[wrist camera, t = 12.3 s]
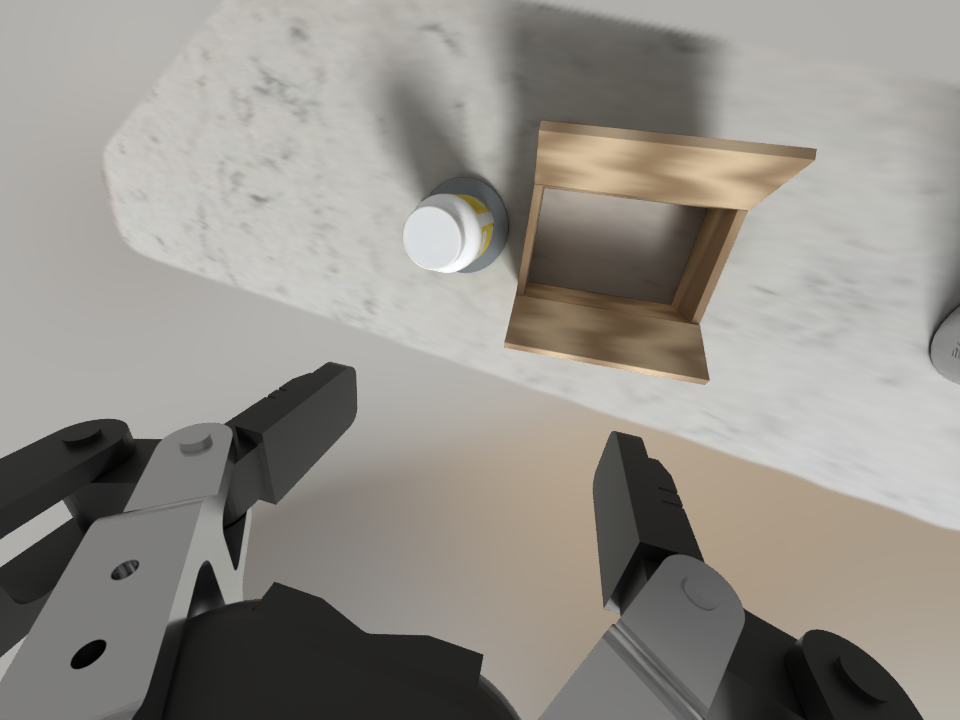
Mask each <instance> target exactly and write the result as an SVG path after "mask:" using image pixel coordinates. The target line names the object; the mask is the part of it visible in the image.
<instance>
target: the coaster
mask: <svg viewBox="0 0 960 720" xmlns="http://www.w3.org/2000/svg"><path fill="white" fill-rule="evenodd" d="M437 194H458V195H470V196H474V197H476V198H478V199H480V200H481V201H482V202H484V203H485V204H486V206H487V207H488V208H489V210H490V211H491V213H492V216H493V219H494V224H495V232H494V237H493V240H492V243H491V245H490V246H489V248H488V249H487V250H486V251H485V252H484V253H483V254H482V255H481V256H479V257H478V258H477V259H476V260H474V261H473V262H472V263H470V264H469V265H468V266H466V267H465V268H463V269H461V270H458V271H456V272H461V273H471V272H476V271H479V270H481V269H483V268H485V267H487V266H488V265H490V264H491V263H492V262H493V261H494V260H495V259H496V258H497V257H498V256H499V254H500V253H501V251H502V250H503V248H504V246H505V243H506V240H507V235H508V217H507V212H506V209H505V207H504V204H503V202H502V200H501V199H500V197H499V196H498V195H497V193H496V192H495V191H494V190H493V189H492V188H491V187H489V186H488V185H487V184H485V183H483V182H481V181H479V180H476V179H472V178H465V177H460V178H454V179H450V180H448V181H445V182H443V183H442V184H440V185H439V186H438V187H437V188H435V189H434V190H433V192H432V193H431V194H430V195H429V197H430V196H433V195H437Z"/></svg>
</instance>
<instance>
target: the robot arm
mask: <svg viewBox="0 0 960 720" xmlns="http://www.w3.org/2000/svg"><path fill="white" fill-rule="evenodd" d="M931 359H932V363H933V366H934V367H935V368H936V370H937V371H938V372H939V373H940V374H941V375H943V376H944V377H945V378H947V379H948V380H951V381H953V382H955V383H957V384H959V385H960V306H959V307H958V308H957V309H956V310H955V311H953V312H952V313H951V314H950V315H949V316H948V318H947V319H946V320H945V321H944V322H943V323H942V324H941V326H940V328H939V329H938V331H937V332H936V334H935V336H934V339H933V342H932V345H931ZM356 413H357V387H356V371H355V369H354V368H353V367H350V366H346V365H342V364H338V363H333V362H328V363H326V364H325V365H323V366H322V367H320V368H319V369H317V370H316V371H314V372H313V373H308V374H305V375H303V376H300V377H297V378H294V379H292V380H290V381H289V382H287V383H286V384H284V385H283V386H281V387H280V388H279V390H275V391H274V392H272V393H271V394H269V395H268V397H264V398H263V399H262V400H260V401H259V402H257V403H255V404H254V405H252V406H251V407H249V408H248V409H246V410H245V411H243V412H242V413H240V414H239V415H237V416H236V417H234V418H232V419H231V420H229V421H228V422H226V423H225V424H220V423H202V424H196V425H192V426H188V427H185V428H182V429H180V430H178V431H175V432H173V433H171V434H170V435H168V436H167V437H165V438H164V439H133V437H132V435H131V432H130V430H129V428H128V425H127V424H126V423H125V422H123V421H120V420H116V419H99V420H92V421H86V422H83V423H78V424H75V425H72V426H69V427H66V428H64V429H61V430H59V431H57V432H55V433H53V434H51V435H49V436H47V437H44V438H42V439H40V440H38V441H36V442H34V443H32V444H30V445H28V446H26V447H24V448H22V449H20V450H18V451H16V452H13V453H12V454H9V455H7V456H5V457H3V458H1V459H0V539H1V538H3V537H4V536H6V535H7V534H9V533H10V532H12V531H14V530H15V529H17V528H18V527H20V526H22V525H23V524H25V523H26V522H28V521H29V520H31V519H33V518H34V517H36V516H37V515H39V514H40V513H42V512H44V511H45V510H47V509H48V508H50V507H51V506H53V505H54V504H56V503H58V502H59V501H61V500H63V501H64V503H65V504H66V506H67V508H68V510H69V511H70V513H71V515H72V516H73V518H72V519H70V520H69V521H67V522H66V523H65V524H63V525H61V526H60V527H59V528H57V529H56V530H54V531H53V532H51V533H50V534H48V535H47V536H46V537H44V538H43V539H41V540H40V541H39V542H37V543H35V544H34V545H32V546H31V547H29V548H28V549H26V550H25V551H24V552H22V553H21V554H19V555H18V556H16V557H15V558H13V559H12V560H10V561H9V562H7V563H6V564H5V565H3V566H2V567H0V657H1V656H2V655H4V654H5V653H6V652H7V651H8V650H10V649H11V648H12V647H13V646H14V645H15V644H16V643H18V642H19V641H20V640H21V639H22V638H24V637H25V636H26V635H27V634H28V635H27V637H26V638H25V640H24V642H23V644H22V645H21V647H20V649H19V650H18V652H17V654H16V656H15V657H14V659H13V661H12V663H11V664H10V666H9V668H8V669H7V671H6V673H5V675H4V676H3V678H2V680H1V682H0V720H521V719H520V717H519V716H518V714H517V712H516V711H515V710H514V708H513V707H512V706H511V704H510V703H509V702H508V700H507V699H506V698H505V696H504V695H503V694H502V693H501V692H500V691H499V690H498V689H497V688H496V687H495V686H494V685H493V684H492V683H491V682H490V681H489V680H487V679H486V678H485V677H483V676H482V675H481V674H480V671H481V665H482V659H483V654H480V653H477V652H474V651H471V650H468V649H466V648H463V647H460V646H457V645H454V644H451V643H449V642H445V641H443V640H440V639H437V638H434V637H431V636H426V635H389V634H369V633H366V632H364V631H362V630H361V629H360V628H358V627H357V626H356V625H355V624H353V623H352V622H351V621H350V620H348V619H347V618H346V617H345V616H344V615H342V614H341V613H340V612H339V611H337V610H336V609H335V608H334V607H332V606H331V605H330V604H329V603H327V602H326V601H325V600H324V599H322V598H320V597H317V596H313V595H311V594H308V593H305V592H302V591H299V590H297V589H294V588H291V587H288V586H285V585H282V584H279V583H276V582H274V583H273V585H272V586H271V587H270V589H269V590H268V591H267V592H266V594H265V595H264V596H263V598H262V599H255V600H245V601H243V591H242V583H243V573H244V566H245V559H246V553H247V545H248V539H249V532H250V525H251V518H252V511H251V506H252V505H253V504H254V503H255V502H256V501H257V500H258V499H260V500H263V501H266V502H269V503H273V504H277V503H278V502H279V501H280V500H281V499H282V498H283V497H284V496H285V495H286V493H288V491H289V490H290V489H291V488H292V487H293V486H294V485H295V484H296V483H297V482H298V481H299V480H300V479H301V478H302V477H303V476H304V475H305V474H306V473H307V472H308V470H309V469H310V468H311V467H312V466H313V465H314V464H315V463H316V462H317V461H318V460H319V459H320V458H321V457H322V456H323V455H324V453H325V452H326V451H327V450H328V449H329V448H330V447H331V446H332V445H333V444H334V443H335V442H336V441H337V440H338V439H339V438H340V437H341V436H342V435H343V433H344V432H345V431H346V430H347V429H348V428H349V427H350V426H351V424H352V423H353V421H354V419H355V417H356ZM593 499H594V510H595V520H596V531H597V542H598V552H599V563H600V574H601V584H602V595H603V606H604V609H605V610H608V611H612V612H615V613H618V614H620V616H621V618H620V619H619V620H618V621H617V623H616V624H615V625H614V624H612V626H610V628H609V629H608V630H607V631H606V632H605V634H604V635H603V636H602V638H601V639H600V640H599V641H598V643H597V644H596V645H595V647H594V648H593V649H592V650H591V652H590V653H589V654H588V656H587V657H586V658H585V660H584V661H583V662H582V663H581V665H580V666H579V667H578V669H577V670H576V671H575V673H574V674H573V675H572V676H571V678H570V679H569V680H568V682H567V683H566V684H565V685H564V687H563V688H562V689H561V691H560V692H559V693H558V695H557V696H556V697H555V699H554V700H553V701H552V702H551V704H550V705H549V706H548V708H547V709H546V710H545V711H544V713H543V714H542V716H541V717H540V718H539V719H538V720H923V718H922V716H921V715H920V713H919V712H918V710H917V709H916V707H915V706H914V704H913V703H912V701H911V700H910V698H909V697H908V695H907V694H906V693H905V691H904V690H903V688H902V687H901V686H900V685H899V684H898V683H897V681H896V680H895V679H894V678H893V677H892V676H891V675H890V674H889V673H888V672H887V671H886V670H885V669H884V668H883V667H882V666H881V665H880V664H879V663H878V662H877V661H876V660H875V659H873V658H872V657H871V656H870V655H868V654H867V653H866V652H864V651H863V650H862V649H860V648H859V647H858V646H856V645H855V644H853V643H851V642H850V641H848V640H846V639H844V638H842V637H840V636H839V635H836V634H834V633H831V632H828V631H824V630H817V629H816V630H810V631H808V632H806V633H805V634H804V635H803V636H802V637H801V638H800V639H799V640H797V639H795V638H794V637H792V636H790V635H788V634H787V633H785V632H783V631H781V630H780V629H778V628H776V627H774V626H773V625H771V624H769V623H767V622H766V621H764V620H762V619H760V618H758V617H757V616H755V615H753V614H752V613H750V612H748V611H747V610H745V609H744V608H743V606H742V604H741V601H740V599H739V597H738V596H737V594H736V592H735V591H734V589H733V588H732V587H731V585H730V584H729V583H728V582H727V581H726V580H725V579H724V578H723V577H722V576H721V575H720V574H719V573H718V572H717V571H715V570H714V569H713V568H711V567H710V566H709V565H707V564H705V562H704V559H703V557H702V554H701V552H700V549H699V546H698V544H697V541H696V539H695V536H694V534H693V531H692V528H691V526H690V523H689V520H688V518H687V515H686V513H685V510H684V509H682V506H683V505H682V502H681V500H680V497H679V495H677V489H676V487H675V484H674V482H673V479H672V476H671V475H670V474H669V472H668V471H667V470H666V469H665V468H664V467H663V465H662V464H661V463H660V462H659V461H658V460H656V459H652V458H648V455H647V452H646V449H645V446H644V443H643V440H642V438H640V437H637V436H633V435H629V434H625V433H621V432H616V431H612V432H611V434H610V436H609V438H608V441H607V443H606V446H605V448H604V451H603V454H602V456H601V459H600V461H599V464H598V467H597V469H596V472H595V476H594V481H593Z"/></svg>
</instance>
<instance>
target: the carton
mask: <svg viewBox="0 0 960 720" xmlns="http://www.w3.org/2000/svg"><path fill="white" fill-rule="evenodd" d="M816 150H817V149H812V148H803V147H793V146H783V145H774V144H764V143H754V142H745V141H735V140H725V139H716V138H706V137H696V136H687V135H677V134H667V133H658V132H648V131H638V130H628V129H619V128H609V127H599V126H590V125H580V124H570V123H561V122H551V121H541V123H540V128H539V136H538V148H537V160H536V171H535V184H534V190H533V196H532V202H531V208H530V214H529V220H528V226H527V232H526V238H525V244H524V250H523V256H522V262H521V268H520V274H519V279H518V285H517V291H516V296H515V300H514V305H513V309H512V313H511V317H510V321H509V326H508V330H507V334H506V338H505V343H504V348H510V349H515V350H520V351H526V352H531V353H536V354H542V355H547V356H552V357H558V358H563V359H569V360H574V361H579V362H585V363H590V364H595V365H601V366H606V367H611V368H617V369H622V370H627V371H633V372H638V373H644V374H649V375H654V376H660V377H665V378H670V379H676V380H681V381H686V382H692V383H697V384H702V385H705V384H706V383H707V382H708V381H710V380H709V375H708V369H707V363H706V357H705V352H704V346H703V340H702V334H701V329H700V325H699V324H700V322H701V319H702V317H703V315H704V312H705V310H706V308H707V305H708V303H709V301H710V298H711V296H712V294H713V291H714V289H715V287H716V284H717V282H718V280H719V277H720V275H721V273H722V270H723V268H724V266H725V263H726V261H727V259H728V256H729V254H730V252H731V249H732V247H733V245H734V242H735V240H736V238H737V235H738V233H739V231H740V228H741V226H742V224H743V221H744V219H745V216H746V214H747V212H748V210H751V209H752V208H753V207H755V206H756V205H757V204H758V203H760V202H761V201H762V200H764V199H765V198H766V197H768V196H769V195H770V194H771V193H773V192H774V191H775V190H777V189H778V188H779V187H781V186H782V185H783V184H784V183H786V182H787V181H788V180H790V179H791V178H792V177H794V176H795V175H796V174H797V173H799V172H800V171H801V170H803V169H804V168H805V167H807V166H808V165H809V164H810V163H812V162H813V161H814V160H815V157H816ZM544 188H552V189H559V190H567V191H575V192H583V193H591V194H599V195H607V196H615V197H622V198H630V199H638V200H646V201H654V202H662V203H670V204H677V205H685V206H693V207H701V208H708V209H707V212H706V214H705V217H704V220H703V222H702V225H701V228H700V230H699V233H698V236H697V238H696V241H695V243H694V246H693V249H692V251H691V254H690V257H689V259H688V262H687V265H686V267H685V270H684V273H683V275H682V278H681V280H680V283H679V286H678V288H677V291H676V294H675V296H674V299H673V302H672V304H671V305H667V304H661V303H655V302H649V301H642V300H636V299H630V298H624V297H618V296H611V295H605V294H599V293H593V292H587V291H581V290H574V289H568V288H562V287H556V286H550V285H543V284H537V283H531V282H528V276H529V271H530V265H531V260H532V254H533V249H534V243H535V238H536V232H537V226H538V221H539V215H540V210H541V204H542V199H543V193H544Z"/></svg>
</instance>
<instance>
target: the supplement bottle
mask: <svg viewBox="0 0 960 720" xmlns="http://www.w3.org/2000/svg"><path fill="white" fill-rule="evenodd" d="M494 232H495V224H494V219H493V216H492V213H491V211H490V210H489V208H488V207H487V206H486V204H485V203H484V202H482V201H481V200H480V199H478V198H476V197H474V196H470V195H458V194H437V195H433V196H430V197H428V198H427V199H425V200H424V201H422V202H421V203H420V204H419V205H418V206H417V207H416V209H415V210H414V211H413V212H412V213H411V214H410V215H409V217H408V218H407V220H406V222H405V224H404V227H403V244H404V247H405V250H406V252H407V254H408V255H409V257H410V258H411V259H412V260H413V261H414V262H415V263H416V264H417V265H419V266H420V267H422V268H425V269H428V270H435V271H438V272H443V273H450V272H456V271H458V270H461V269H463V268H465V267H466V266H468V265H469V264H470V263H472V262H473V261H474V260H476V259H477V258H478V257H479V256H481V255H482V254H483V253H484V252H485V251H486V250H487V249H488V248H489V246H490V245H491V243H492V240H493V237H494Z"/></svg>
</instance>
